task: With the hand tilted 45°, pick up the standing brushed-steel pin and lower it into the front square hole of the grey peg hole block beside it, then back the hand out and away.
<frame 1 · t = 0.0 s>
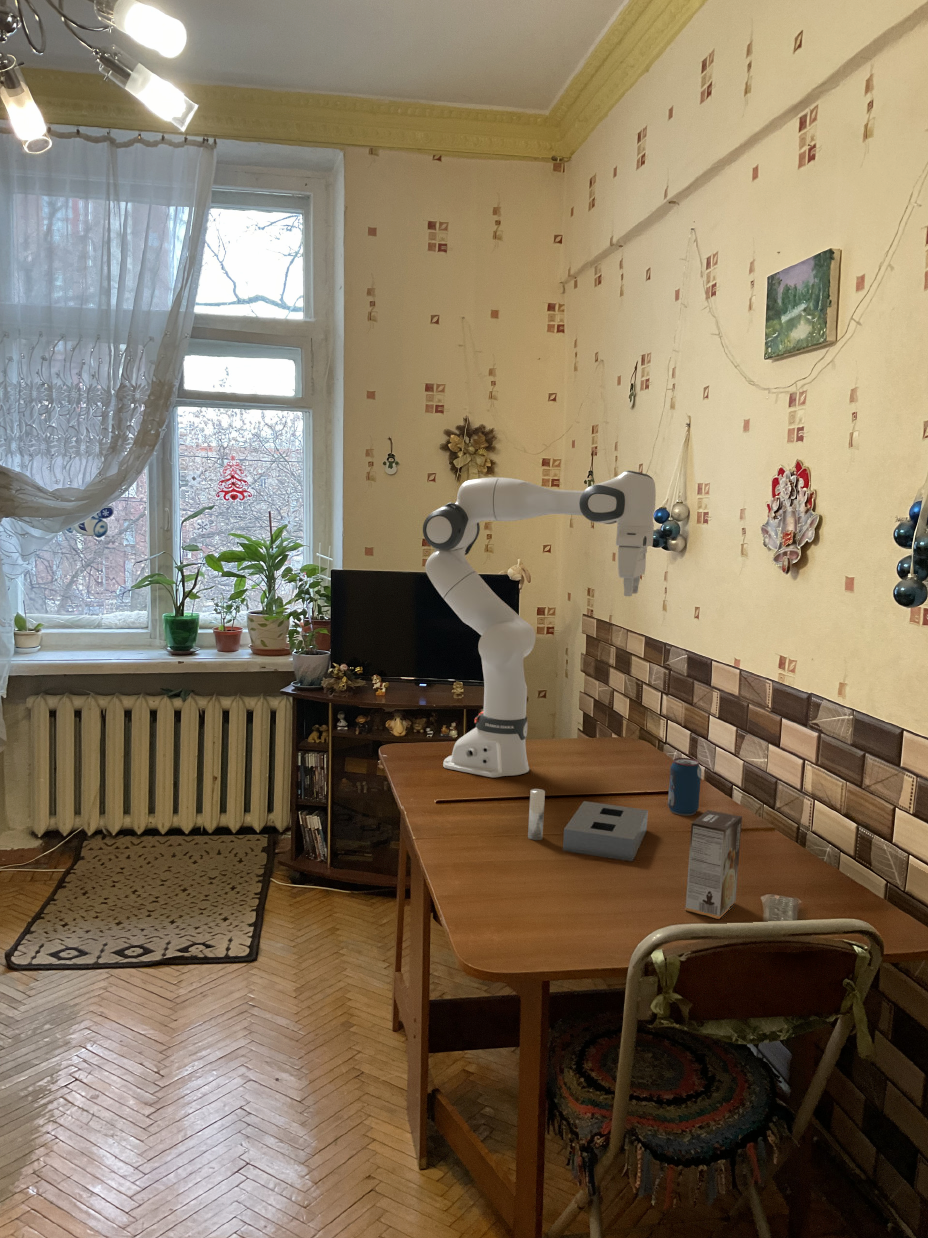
hand: (631, 594, 233), 48 cm above the table, tool pointing down, fingers open, 8 cm apart
coffee box: (710, 908, 166), on the table
steel pin: (535, 837, 197), on the table
soda can: (682, 812, 219), on the table
grey peg hole block: (606, 840, 197), on the table
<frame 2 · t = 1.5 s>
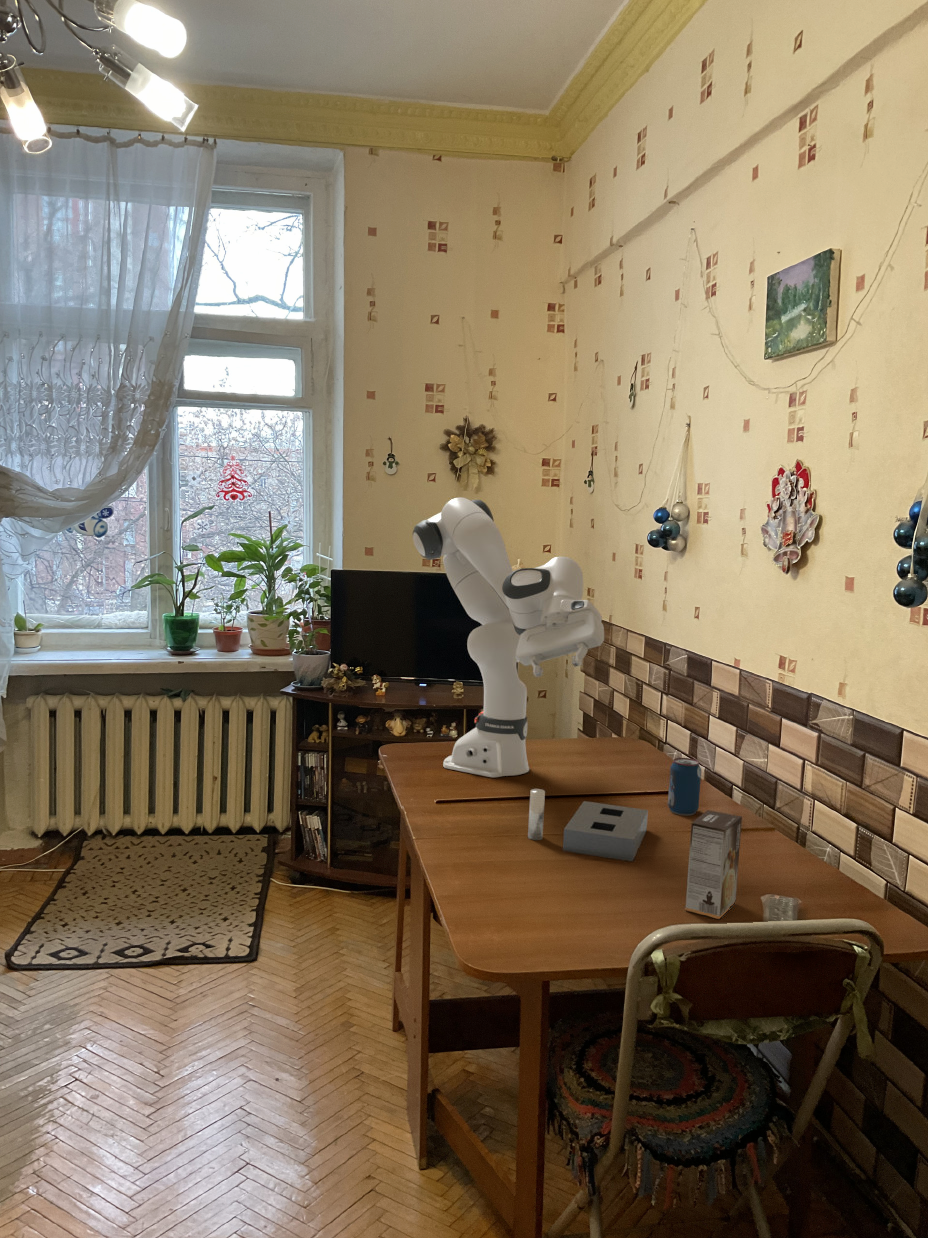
hand: (556, 670, 200), 34 cm above the table, tool tilted 45°, fingers open, 8 cm apart
nothing on the table moved.
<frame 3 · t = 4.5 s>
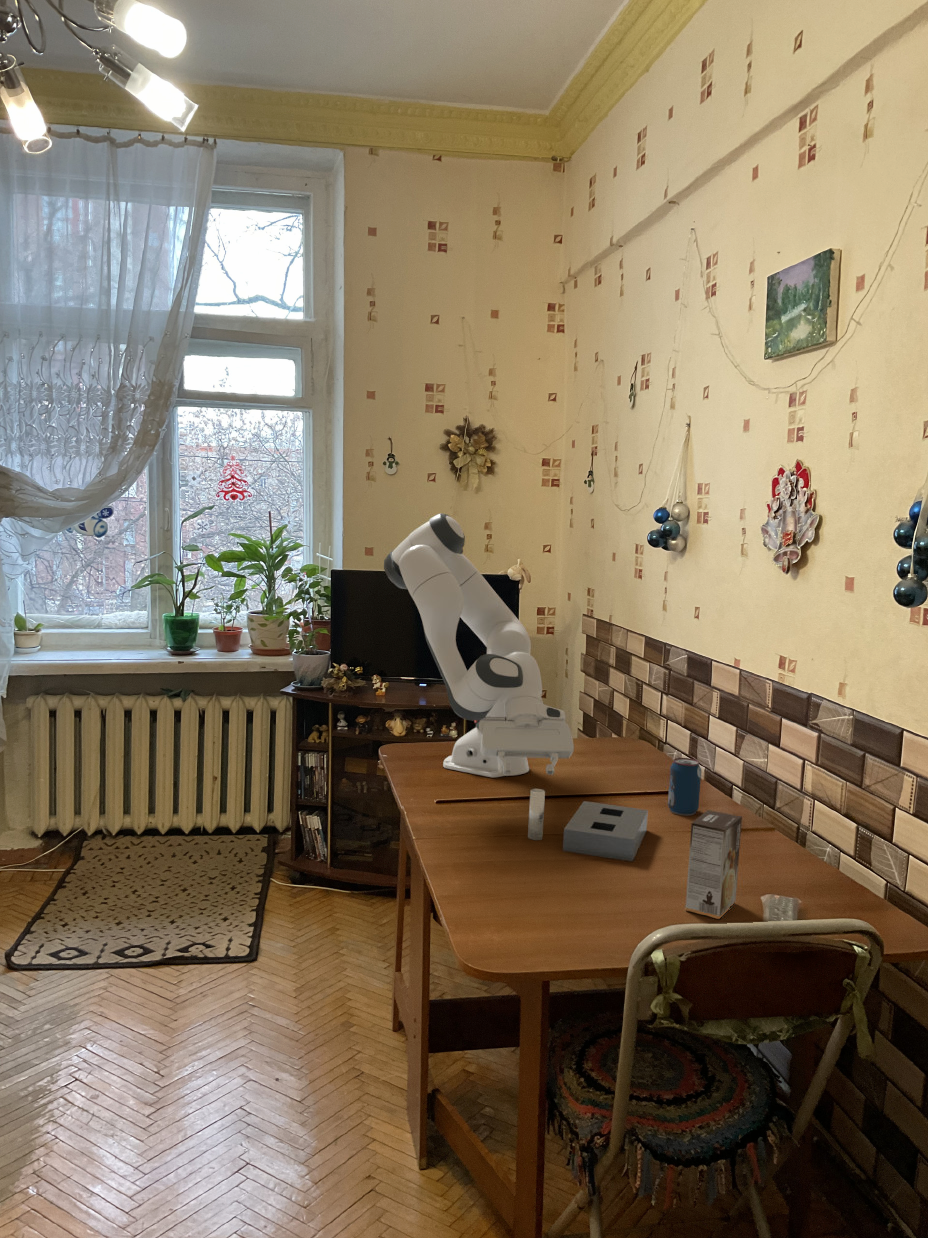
hand: (528, 773, 203), 12 cm above the table, tool tilted 45°, fingers open, 8 cm apart
nothing on the table moved.
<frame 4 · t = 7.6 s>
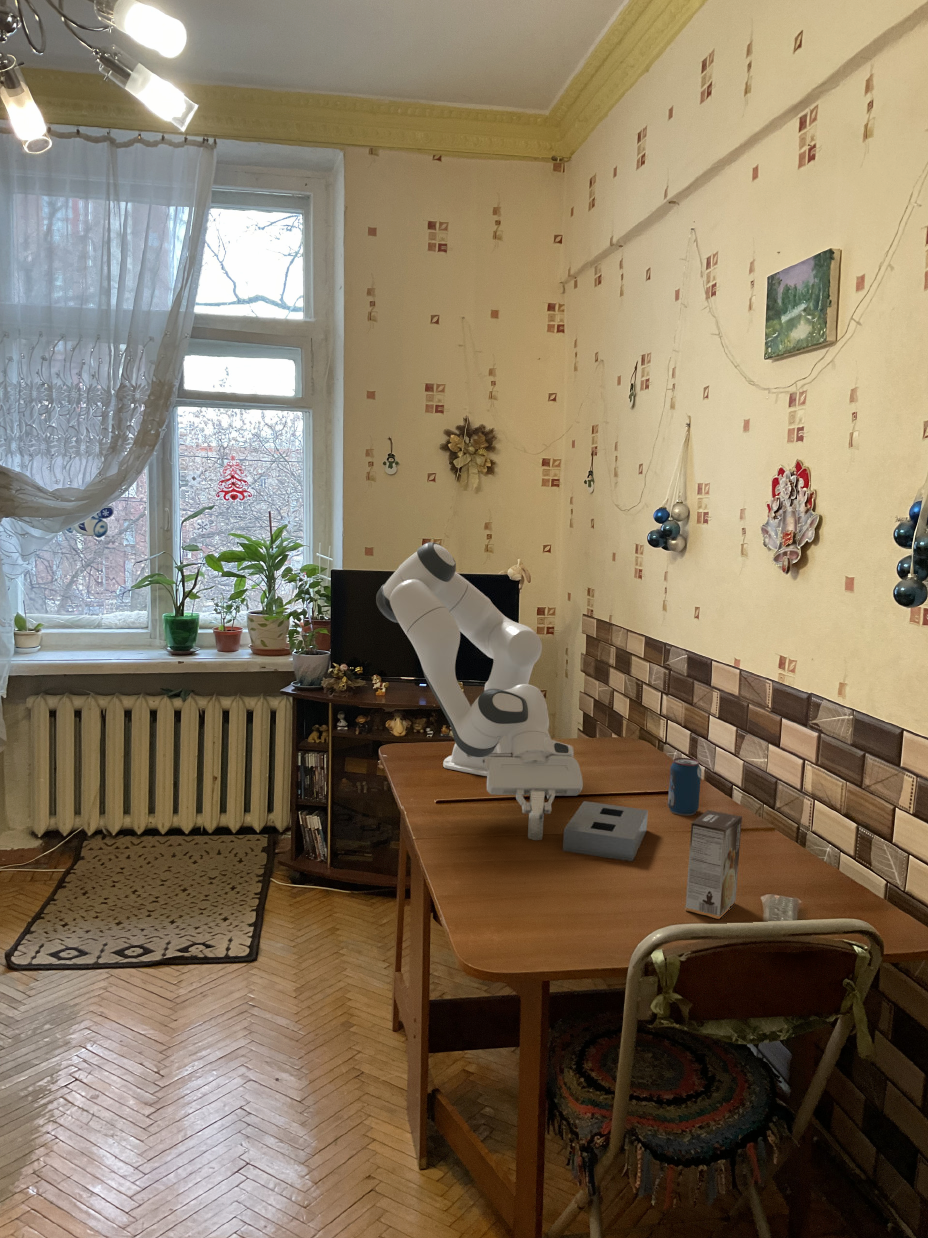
hand: (537, 812, 196), 6 cm above the table, tool tilted 45°, fingers closed on steel pin, 3 cm apart
steel pin: (535, 837, 197), on the table, touching gripper
everything else where it was.
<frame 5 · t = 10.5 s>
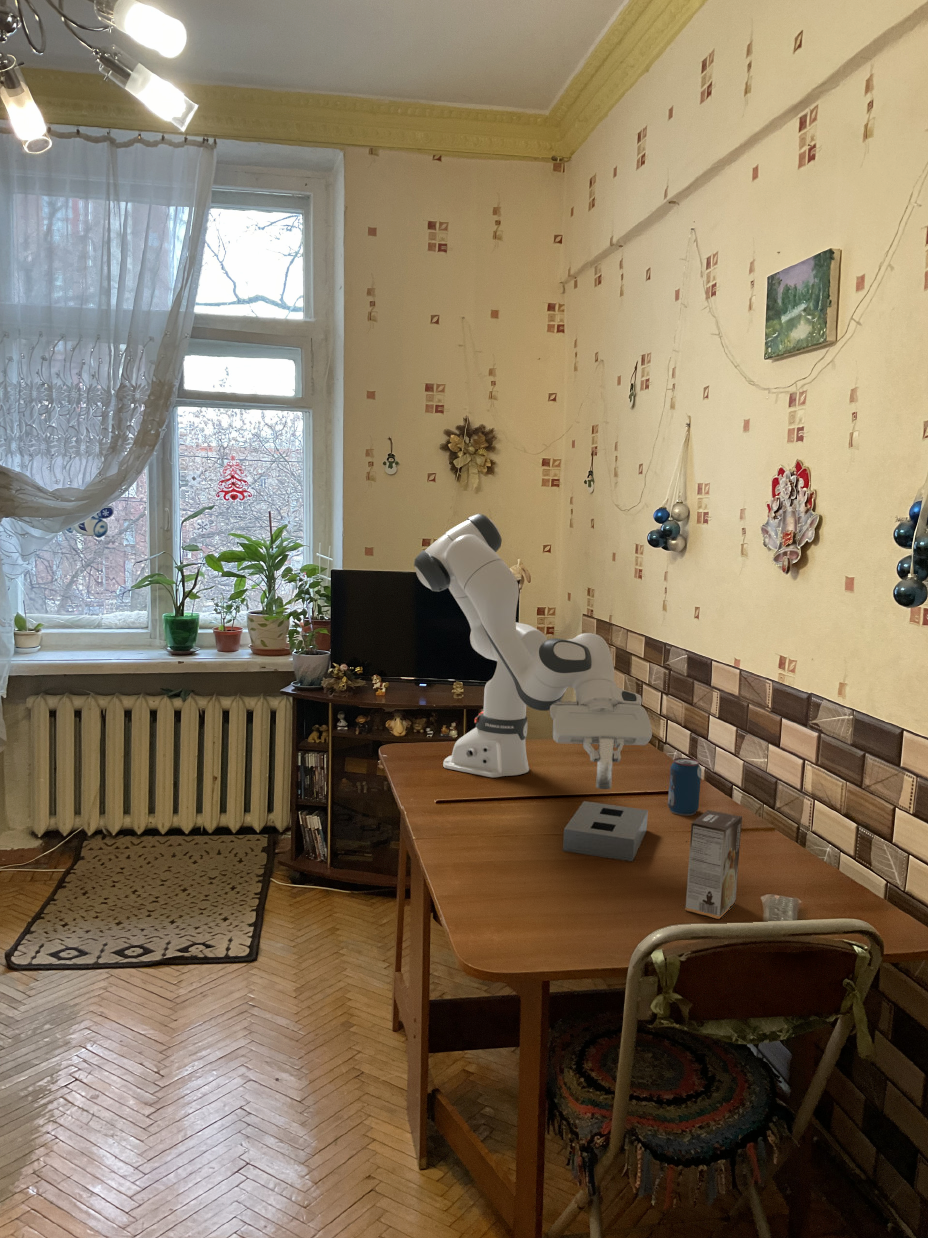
hand: (605, 760, 190), 18 cm above the table, tool tilted 45°, fingers closed on steel pin, 3 cm apart
steel pin: (603, 787, 191), point 13 cm above the table, touching gripper
everything else where it was.
when the fingers open (7 cm above the table, at t = 13.9 s): steel pin drops 1 cm, resting in grey peg hole block.
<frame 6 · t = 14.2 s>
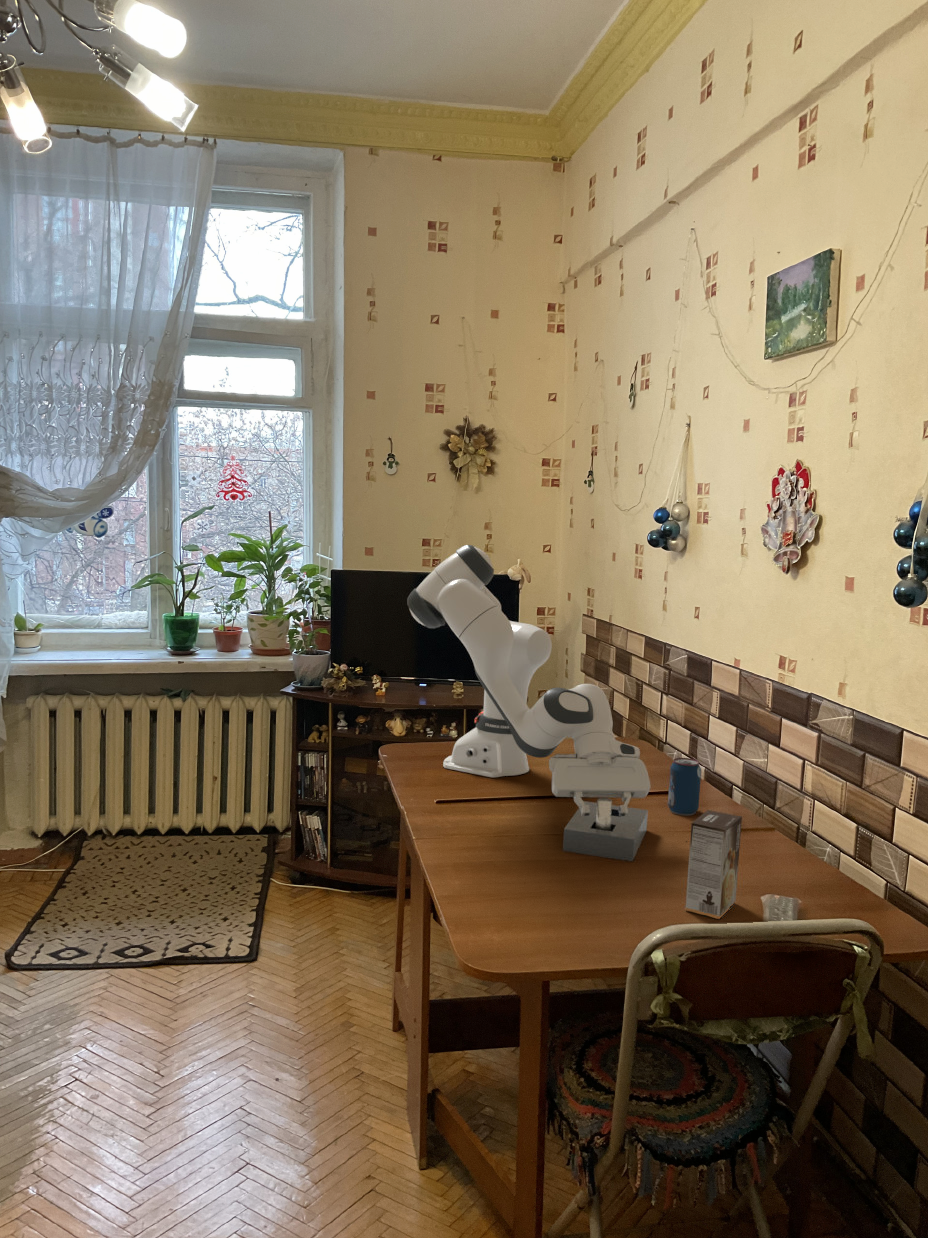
hand: (604, 815, 191), 7 cm above the table, tool tilted 45°, fingers open, 6 cm apart
steel pin: (602, 848, 193), resting in grey peg hole block
everything else where it was.
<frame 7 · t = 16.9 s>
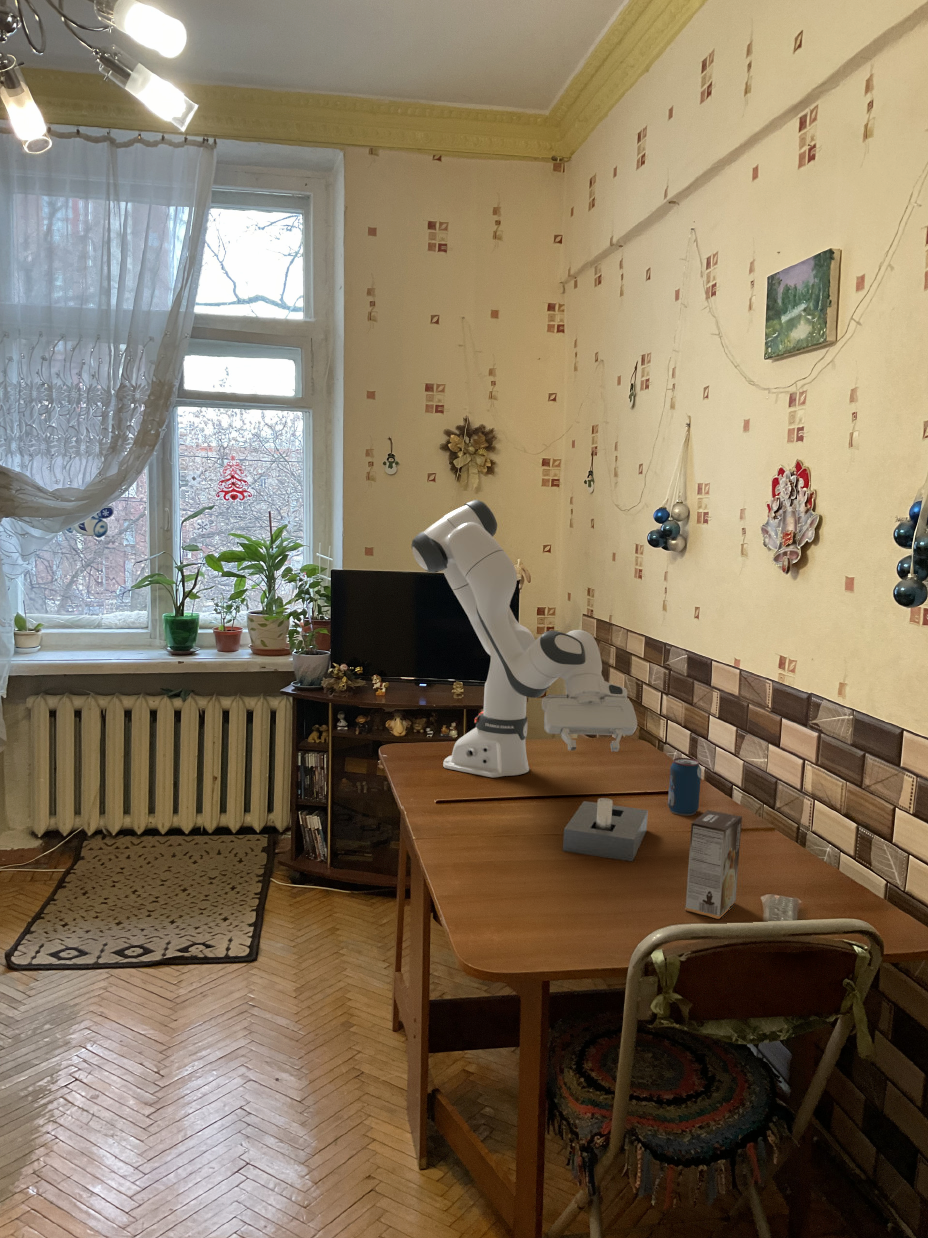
hand: (593, 749, 203), 17 cm above the table, tool tilted 45°, fingers open, 8 cm apart
nothing on the table moved.
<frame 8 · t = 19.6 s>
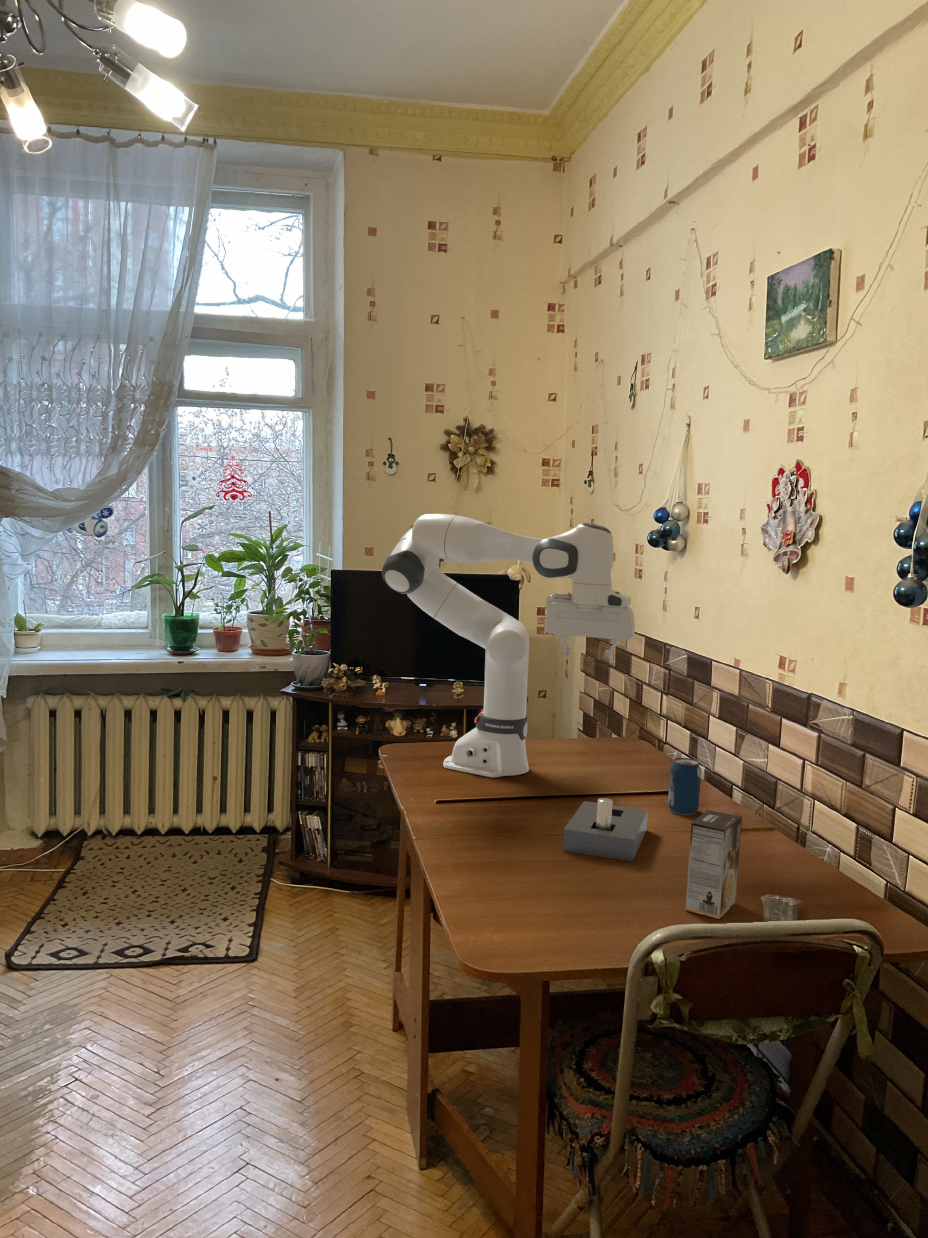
hand: (587, 656, 215), 35 cm above the table, tool pointing down, fingers open, 8 cm apart
nothing on the table moved.
at the end: steel pin 0.1 cm from the target spot on the grey peg hole block, point 0.0 cm above the grey peg hole block's base; steel pin tilted 0°; the gripper is holding nothing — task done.
